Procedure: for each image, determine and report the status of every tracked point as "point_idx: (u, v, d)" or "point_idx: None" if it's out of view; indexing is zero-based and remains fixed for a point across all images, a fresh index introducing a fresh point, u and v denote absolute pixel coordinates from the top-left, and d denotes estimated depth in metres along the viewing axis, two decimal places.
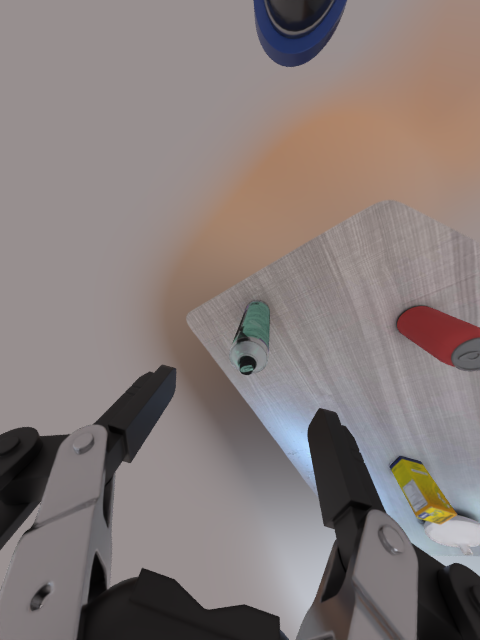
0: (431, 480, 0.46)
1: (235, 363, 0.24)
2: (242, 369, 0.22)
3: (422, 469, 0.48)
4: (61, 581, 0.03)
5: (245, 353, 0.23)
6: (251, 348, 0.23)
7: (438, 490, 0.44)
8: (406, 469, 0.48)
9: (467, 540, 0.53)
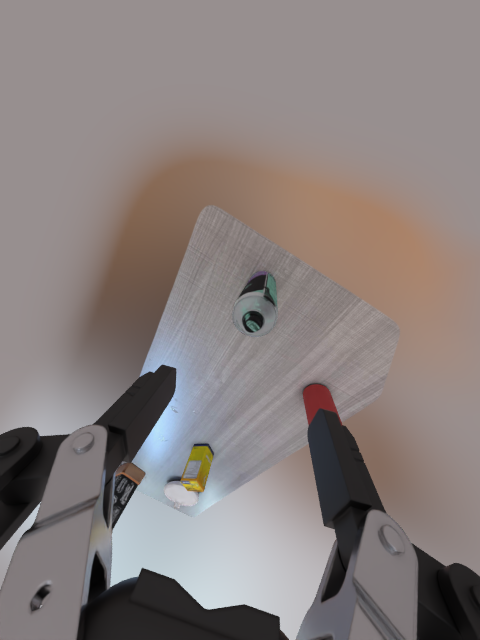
0: (209, 467, 0.60)
1: (241, 308, 0.20)
2: (249, 322, 0.18)
3: (210, 458, 0.61)
4: (61, 581, 0.03)
5: (263, 314, 0.19)
6: (270, 315, 0.20)
7: (207, 474, 0.58)
8: (203, 453, 0.59)
9: (183, 501, 0.73)
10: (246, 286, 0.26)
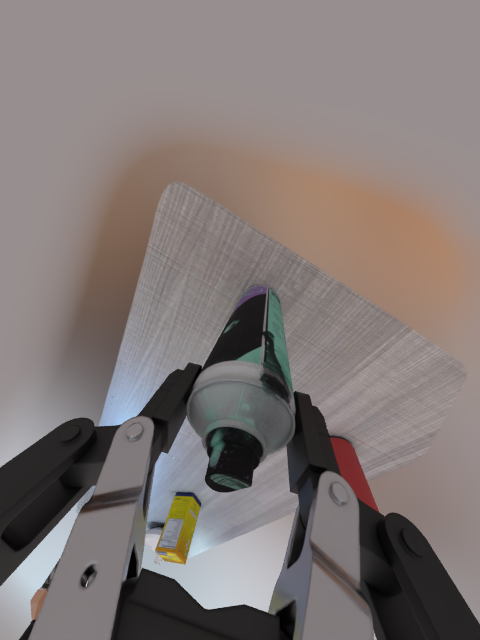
0: (194, 525, 0.47)
1: (204, 410, 0.08)
2: (220, 477, 0.06)
3: (196, 512, 0.49)
4: (105, 566, 0.03)
5: (259, 432, 0.07)
6: (279, 429, 0.08)
7: (191, 536, 0.45)
8: (187, 507, 0.47)
9: None
10: (229, 324, 0.14)
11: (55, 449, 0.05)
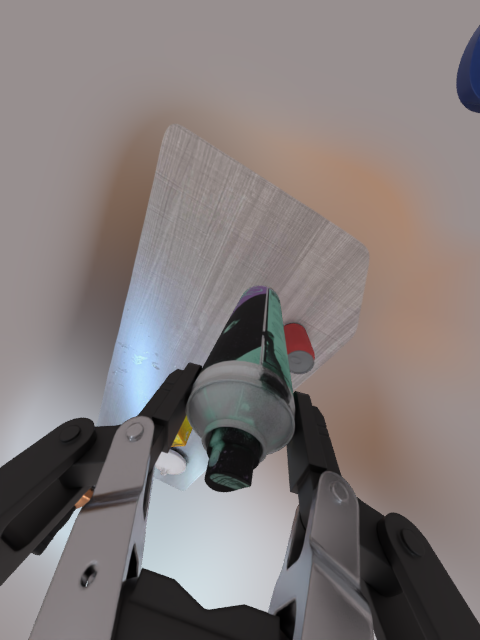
0: None
1: (204, 410, 0.08)
2: (220, 476, 0.06)
3: None
4: (105, 566, 0.03)
5: (259, 432, 0.07)
6: (278, 429, 0.08)
7: (190, 431, 0.57)
8: None
9: (170, 468, 0.72)
10: (229, 324, 0.14)
11: (55, 449, 0.05)
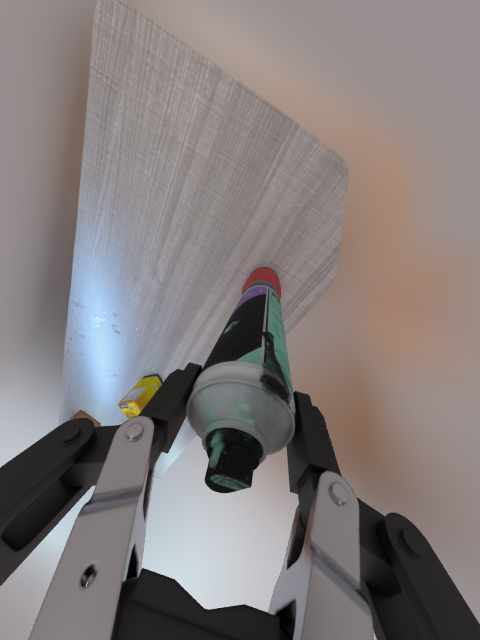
0: None
1: (204, 410, 0.08)
2: (220, 477, 0.06)
3: None
4: (105, 566, 0.03)
5: (259, 433, 0.07)
6: (278, 430, 0.08)
7: None
8: (150, 381, 0.52)
9: None
10: (229, 324, 0.14)
11: (55, 449, 0.05)
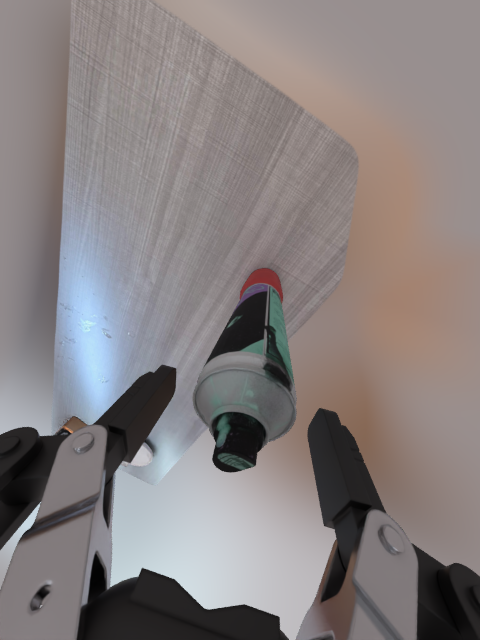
0: None
1: (210, 397, 0.08)
2: (227, 456, 0.07)
3: None
4: (61, 581, 0.03)
5: (263, 417, 0.08)
6: (281, 415, 0.08)
7: None
8: None
9: None
10: (232, 319, 0.14)
11: None
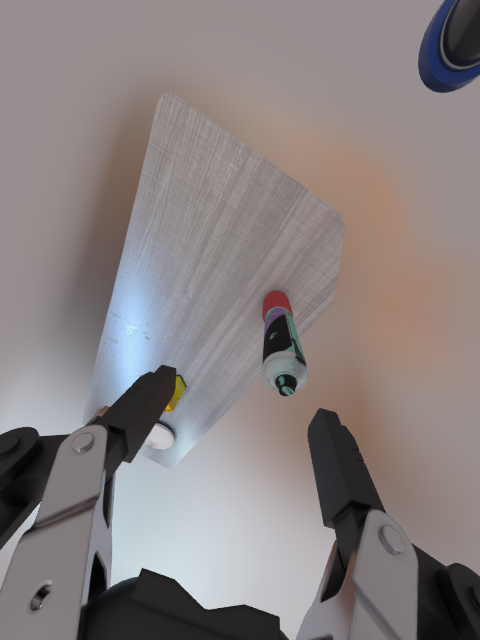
0: (180, 394, 0.61)
1: (273, 369, 0.20)
2: (285, 388, 0.19)
3: (182, 388, 0.63)
4: (61, 581, 0.03)
5: (296, 376, 0.20)
6: (302, 376, 0.20)
7: (177, 399, 0.60)
8: None
9: (158, 442, 0.74)
10: (271, 334, 0.26)
11: None
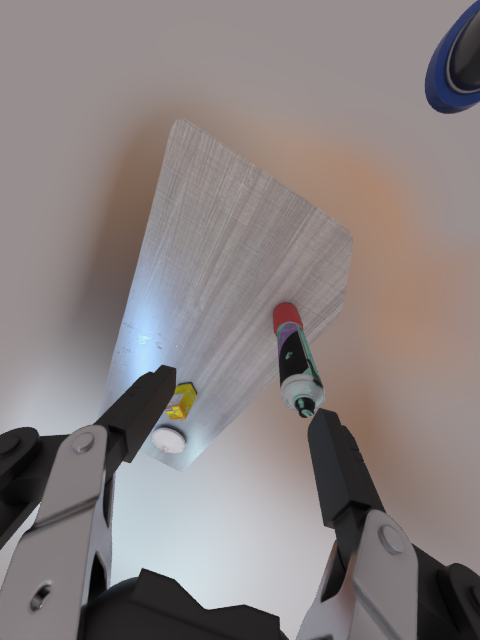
0: (192, 401, 0.63)
1: (293, 392, 0.22)
2: (305, 411, 0.20)
3: (194, 395, 0.65)
4: (61, 581, 0.03)
5: (314, 399, 0.21)
6: (320, 398, 0.22)
7: (189, 406, 0.61)
8: (186, 388, 0.63)
9: (170, 446, 0.77)
10: (286, 353, 0.28)
11: None
